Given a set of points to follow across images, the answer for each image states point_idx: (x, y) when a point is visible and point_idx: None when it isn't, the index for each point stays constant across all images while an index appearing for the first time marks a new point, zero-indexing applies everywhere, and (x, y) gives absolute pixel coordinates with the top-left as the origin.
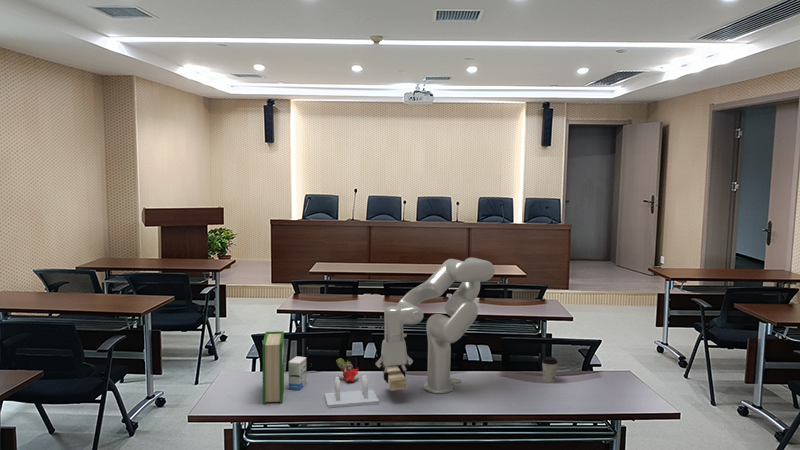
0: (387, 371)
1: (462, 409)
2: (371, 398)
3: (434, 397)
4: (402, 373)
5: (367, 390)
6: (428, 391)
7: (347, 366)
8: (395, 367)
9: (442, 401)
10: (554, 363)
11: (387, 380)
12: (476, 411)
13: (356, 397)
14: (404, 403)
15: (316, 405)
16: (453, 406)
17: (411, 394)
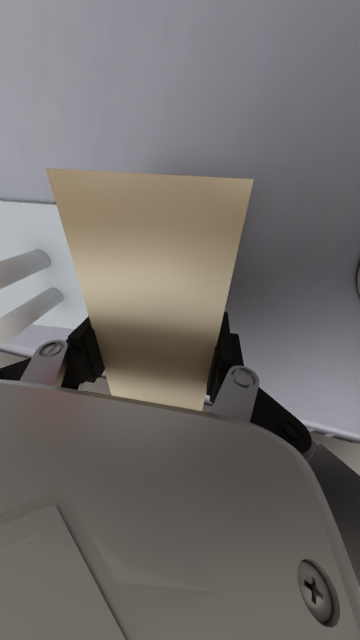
0: (101, 309)
1: (332, 415)
2: (78, 307)
3: (328, 336)
4: (207, 386)
5: (40, 316)
6: (357, 282)
7: None
8: (205, 228)
9: (325, 368)
10: None
11: None
12: (354, 429)
13: (18, 282)
14: None
15: None
16: (326, 398)
17: (259, 284)
